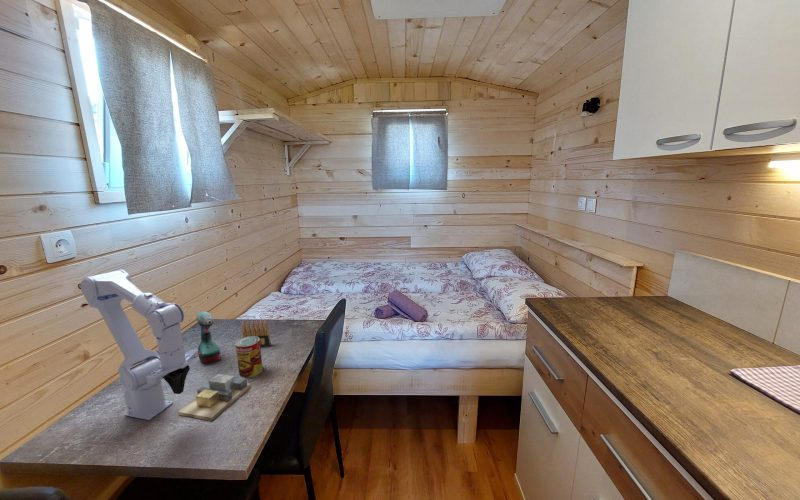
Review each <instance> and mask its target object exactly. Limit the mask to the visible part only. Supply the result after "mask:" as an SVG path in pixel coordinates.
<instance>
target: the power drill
mask: <svg viewBox="0 0 800 500" xmlns="http://www.w3.org/2000/svg"><path fill="white" fill-rule="evenodd" d="M196 314H197V315H196V321H197V323H198V324H199V326H200V343H199V344H198V347H197V351H198V359H199V361H200V362H201V363H203V364H208V363H212V362H215V361H218V360H221V357H220V355H221V348H220V346H219V345H218V343H217V342H216V340H214V339H213V338H212V332H211V326H213V325H214V323H215V321H214V317H213V315H212V314H211V313H210V312H207V311H205V310H204V311H200V312H198V313H196Z"/></svg>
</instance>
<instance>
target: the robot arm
mask: <svg viewBox="0 0 800 500" xmlns="http://www.w3.org/2000/svg"><path fill="white" fill-rule="evenodd" d="M80 289H81V292H82V295H83V296H84V298H85V300H86V303H87V304H89V305H88V306H89V307H90V308H94V309H97V311H99V314H100V315H101V317H102V318H103V321H104V322H105V324H106V326H107V328H108V330H109V331H110V333H111V335H112V337H113V338H114V340H115V342H116V344H117V346H118V348H119V350H120V351H121V353H122V355H123V357H124V359H123V361H122V362H121V364H120V365H119V368H118V370H117V371H118V374H119V377H120V381H121V385H122V386H123V387H124V388H125V390H124V401H125V406H126V411H127V412H125V413H124V416H127V417H132V418H136V419H141V420H142V419H143V420H147V421H149V420H151V419H153V418H154V417H156V416H157V415H158V414H160V413H162V412H163V411H164V410H166V409H167V408H168V407H170V406H171V405H172V404H173V403H174V402H173V400H166V399H165V393H164V387H163V382H162V380H164V381H165V382H166V383H167V385H169V387H170V389H171V390H172V392H173V394H175V395H181V394H182V393H183V392H184V391H185V390H184V389H185V383H186V379H187V376H188V374H189V371H190V369H191V368H190V365H189V362H190V361H191V360H193V359H196V358H199V355H198V349H197V350H195V349H191V350H189V351H187V352H186V353H185V346H184V340H183V333H182V327H181V323H183V321H184V318H185V314H184V310H183V309H182V307H181V306H180V305H179V304H178V303H177V302H172V303H171V302H166V301H164V300H163V299H161V298H159V297H158V296H157V295H155V294H154V293H152V292H143V291H142V290H140V288H139V287H137V286H136V285H135V284H134V283H132V279H131V276H130V274H129V273H128V272H127V271H125V270H124V269H121V268H120V269H117V270H114V271H108V272H104V273H100V274H96V275H91V276H84V277H83V278H82V280H81V281H80ZM124 299H125V300H126V301H128V302H130V303H131V307H132V309H133V310H134V311H135V312H137V314H139V315H141V316H143V317H144V318H145V319H146V320H147V323H148V326H149V327H150V329H151V331H152V335H153V337H155V339H156V345H157V350H158V351H157V350H154V349H153V350H152V349H146V348H145V347H144V345H143V342H142V341H141V340H140V338H139V336H138V334H137V332H136V330H135V328H134V327H133V324H132V323H131V321H130V319H129V317H128V316H127V313H126V311H124V308H123V307H122V303H121V302H122V301H123V300H124Z"/></svg>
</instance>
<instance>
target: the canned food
mask: <svg viewBox="0 0 800 500" xmlns="http://www.w3.org/2000/svg"><path fill="white" fill-rule="evenodd" d="M235 350H236V351H235V352H236V360H237V368H238V373H239V374H238V376H240V378H246V379H247V378H253V377H256V376H258V375H260V374H261V373H262V372H263V360H262V351H261V347H260V339H259V338H258V337H256V336H248V337H244V338H239V339H237V340H236V342H235Z"/></svg>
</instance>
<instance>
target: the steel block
mask: <svg viewBox="0 0 800 500" xmlns="http://www.w3.org/2000/svg"><path fill="white" fill-rule="evenodd" d="M234 377H235V376H234V375H229V374H222V373H217V374H216V375H215V376H213V377H211V378H210V379H209V380H208V384H209V388H214V389H221V390H227V391H231V392H233V391H235V382H234Z"/></svg>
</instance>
